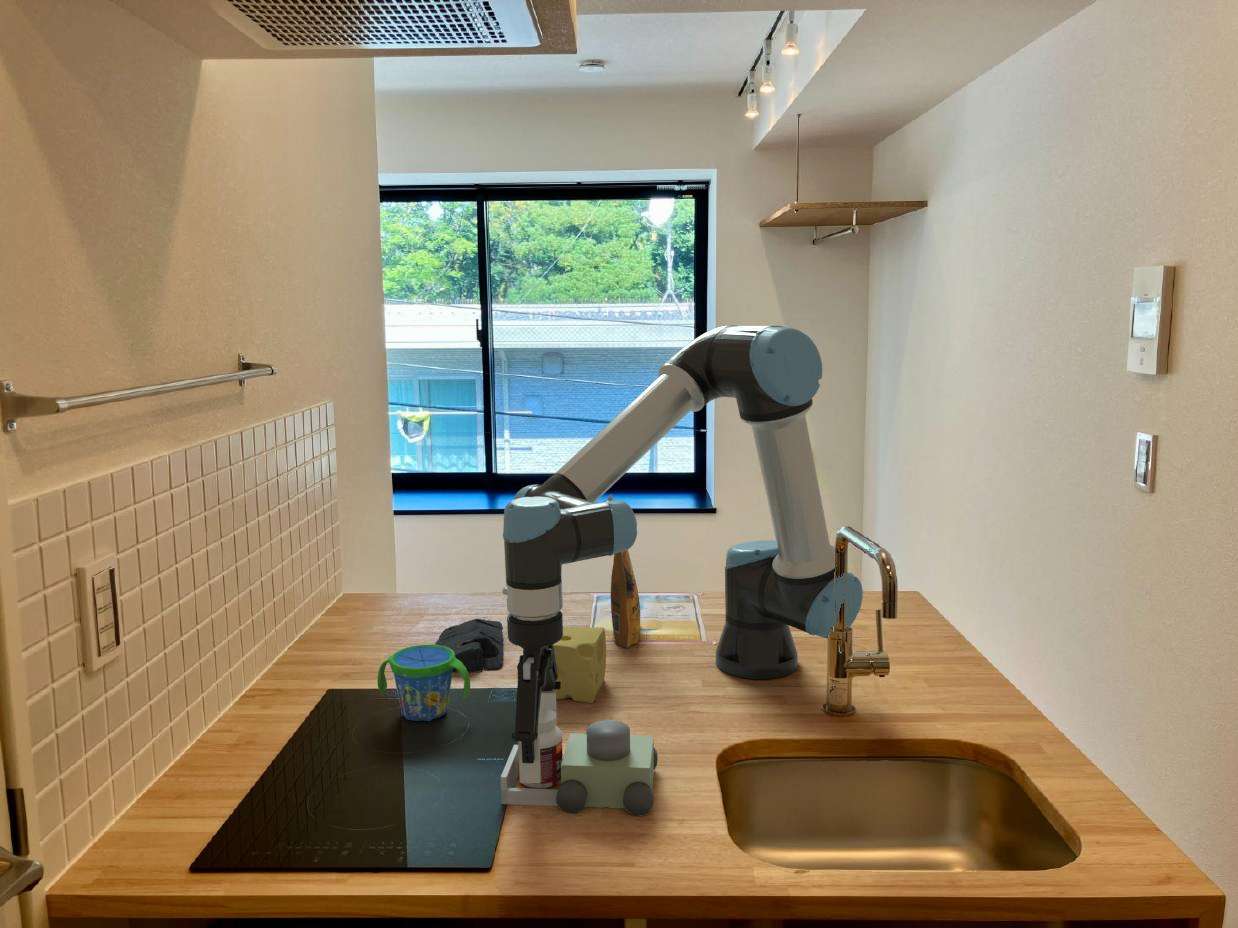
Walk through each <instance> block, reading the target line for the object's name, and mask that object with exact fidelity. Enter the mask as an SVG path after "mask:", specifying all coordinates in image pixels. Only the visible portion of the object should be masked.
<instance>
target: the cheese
mask: <svg viewBox="0 0 1238 928" xmlns="http://www.w3.org/2000/svg"><path fill="white" fill-rule="evenodd" d="M605 629H606V628H604V627H601V626H600V627H599V626H598V627H571V626H570V627H569V626H568V627H567V626H563V636H562V638H561V640H560V641H558V642H557V643H555V644H553V645H554V652H555V659H556V667H557V674H558V678H557V680H555V681H556V682H561V689H560V690H556V689H553V691H556V700H564V699H567V698H568V699H569V698H570V699H572V701H574V702H581V703H589V704H591V703H592V704H593V703H594V702H595V701H596V696H597V695H598V692H599V690H600V689H601V687H602V685H603V683H604V681H605V678H606V677H605V676H606V667H607V641H606V632H605V631H606V630H605ZM541 691H542V690H541Z"/></svg>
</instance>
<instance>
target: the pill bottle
mask: <svg viewBox="0 0 1238 928" xmlns="http://www.w3.org/2000/svg"><path fill="white" fill-rule="evenodd" d="M556 716H557V712H556V713H555V712H554V711H553V710H550V709H546V708H540V711H539V722H538V735H540V764H541V782H540V784H539V783H520V772H519V776H518V784H519V785H518V786H519V788H531V789H559V786H560V785H561V763H562V760H563V756H564V753H563V733H562V730H561V729H560V728H559V727H558V726H556V723H557V722H558V721H557V720H556ZM557 724H558V723H557ZM517 745H518V744H517ZM518 757H519V745H518Z"/></svg>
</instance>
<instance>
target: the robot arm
mask: <svg viewBox="0 0 1238 928" xmlns="http://www.w3.org/2000/svg"><path fill="white" fill-rule="evenodd" d="M657 373H658V374H657V375H658V377H657V378H656V379H655V380H654V381H653V382H652V383H651V384H650V385H649V386H648V387H647V388H645V390H643V392H642V393H640V394H639V395H638V396H637V397H636V398H635V399H634V400H632V402H631V403H630V404H628V405H627V406H626V407H625V408H624V409H623V410H622V411H620V413H618V415H616V416H615V417H614V418H613V419H612V420H611V421H610V422H609V423H608V424H607V425H605V426H604V427H603V428H602V429H601V430H600V431H599V432H598V433H597V434H596V435H595V436H594V437H593V438H592V439H591V440H589V441H588V442H587V443H586V444H585V445H584V446H583V447H582V448H581V449H580V450H579V451H577V453H575V454H574V455H573V456H572V457H571V458H570V459H569V460H567V462H566V463H564V465H562V466H561V467H560V468H559V469H558V470H557V471H556V472H555V473H554V474H553V475H552V476H550V477H549V478H548V479H547V480H546V481H545V482H544V483H542V484H529V485H527V486H525V487H522V488H521V489H520V490H519V491H517V492H516V494H515V495H514V497H513V499H512V500H511V501H508V503H507V504H506V505H505V507H504V510H503V528H502V529H503V532H502V539H503V543H504V545H503V546H504V547H503V549H504V566H505V583H506V585H505V586H506V587H503V588H502V590H501V593H502V594H503V595H505V596H506V595H507V596H506V597H507V598H506V610H507V611H508V614H507V615H506V619H507V620H506V626H507V638H508V641H509V642H510V643H511V644H512V645H515V646H516V647H517V646H518V647H520V648H522V654H520V656H519V658H518V659H519V660H518V663H517V666H516V669H517V691H516V703H515V704H516V706H515V707H516V708H515V721H514V722H515V726H514V732H513V733H511V739H512V740H514V742H517V745H519V772H520V783H539V784H540V782H541V764H540V735H538V722H539V711H540V708H546V709H550V710H553V711H554V712H555V713H556V714H557V699H556V691H553V689H556V690H560V689H561V682H556V681H555V680H557V678H558V674H557V667H556V659H555V652H554V645H553V644H555V643H557V642H558V641H560V640H561V638H562V636H563V627H564V621H563V619H564V617H563V616H564V615H563V612H562V611H561V610H562V609H563V602H564V601H563V580H562V569H563V567H562V565H568V564H572V563H576V562H582V561H587V560H591V559H596V558H597V559H598V558H602V557H606V556H609V557H612V556H614V554H616V553H619V552H622V551H626V550H628V551H629V550H630V549H631V548H632V547H633V546H634V544H635V542H636V541H637V536H638V522H637V518H636V515H635V512H634V511H633V509H632V507H631V506H630V505H629V504H628V503H627V502H625V501H624V500H619V499H617V500H616V499H615V500H614V499H613V501H608V500H607V499H605V500H603V501H600V502H597V501H598V500H599V499H600V498H601V497H602V496H603V495H604V494H605V493H606V492H607V491H609V489H610V488H612V487H613V485H614V484H615V483H616V482H618V481H619V480H620V479H621V478H622V477H623V476H624V475H625V474H626V473H627V472H628V471H629V470H630V469H631V468H632V467H634V465H635V464H636V463H637V462H639V460H641V458H643V457H644V456H645V455H646V454H647V453H648V452H649V451H650V450H651V449H652V448H654V447H655V445H657V444H658V443H659V441H661V439H663V438H664V437H665V435H667V434H668V433H669V432H671V430H672V429H674V427H675V426H676V425H677V424H678V423H679V422H681V421H682V419H684V418H685V416H687V415H688V414H689V413H691V412H695V413H696V412H699V411H701V410H702V409H703V408H704V407H705V406H706V405H707V404H709V403H710V402H711V401H713V400H716V399H719V398H734V399H735V400H736V405H737V408H738V409H737V410H738V413H739V417H740V420H741V421H742V422H744V423H746V424H748V425H750V426H751V429H752V432H753V433H752V434H753V438H754V442H755V448H756V453H757V457H758V461H759V466H760V470H761V471H760V472H761V477H762V480H763V485H764V491H765V494H766V499H767V503H768V508H769V514H770V518H771V523H772V527H773V533H774V536H775V540H754V541H746V542H741V543H738V544H734V545H732V546H731V547H729V549H728V550H727V552H726V555H725V557H726V558H725V566H724V583H725V584H724V586H725V587H724V590H725V591H724V592H725V593H724V594H725V596H724V598H725V600H724V603H725V605H724V606H725V607H724V608H725V609H724V611H725V616H724V617H725V620H724V621H725V622H724V625H723V629H722V632H721V634H720V637H719V640H718V643H717V645H716V650H715V664H716V666H717V667H718V669H720V670H721V671H723V672H724V673H726V674H729V675H732V676H734V677H739V678H744V679H751V680H772V679H778V678H779V679H780V678H783V677H787V676H788V675H790V674H792V673H794V672H795V671H796V670H797V668H798V666H799V665H798V663H799V660H798V659H799V657H798V651H797V648H796V644H795V642H794V637H793V635H792V632H791V628H790V627H792V628H795V629H797V630H800V631H802V632H804V633H807V634H808V635H810V636H816V637H817V636H818V637H821V638H822V639H823V638H824V639H829V638H828V635H829V632H831V630H832V629H830V628H831V627H833V626H834V625H835V626H836V625H837V615H838V618H839V611H840V608H841V604H843V603H844V599H845V598H846V625H847V626H848V629H849V628H850V627H851V626H852V625H853V623H854V622H855V621H856V619H857V616H858V614H859V612H860V610H861V607H862V602H863V597H864V596H863V595H864V591H863V586H862V585H863V584H862V583H861V580H860V579H859V578H858V577H857V576H855V575H854V573H852V572H847V574H846V589H847V592H846V591H845V572H846V571H845V572H844V573H843V576H842V574H841V577H840V576H839V566H838V578H837V565H836V577H835V592H834V572H835V547H836V546H834V545H833V544H831V543H830V537H829V534H828V528H827V522H826V517H825V512H824V506H823V501H822V496H821V491H820V485H819V481H818V474H817V470H816V465H815V458H814V454H813V448H812V444H811V440H810V433H809V428H808V422H807V418H806V415H807V414H808V412H809V411H810V410H811V408H812V407H813V405H814V401H813V398H814V396H815V395H816V394H817V393H818V391H819V389H820V386H821V383H819V381H820V380H821V379H823V362H822V357H821V354H820V352H819V349H818V347H817V345H816V343H815V342H814V341H813V340H812V339H811V337H809V336H808V334H806V333H804V332H802V330H799V329H796V328H792V327H785V326H782V325H764V326H763V325H738V324H736V325H735V324H729V325H721V326H719V327H715V328H712V329H709V330H708V331H705V332H704V333H703V334H701V335H699V336H697V337H696V338H694V339H693V340H691V341H690V342H688V343H687V344H686V345H685V346H683V347H682V348H680V349H679V350H678V351H677V352H676V353H674V354H673V355H672V356H671V357H670V358H669V359H668V360H667V361H666V362H665V363H664V364H662V365H661V366H660V367H659V369H658V372H657ZM844 594H845V595H844ZM835 600H836V611H835ZM541 690H542V691H541ZM556 720H557V715H556ZM557 725H558V723H556V726H557ZM557 727H558V726H557Z"/></svg>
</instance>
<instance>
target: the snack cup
mask: <svg viewBox="0 0 1238 928" xmlns="http://www.w3.org/2000/svg"><path fill="white" fill-rule="evenodd" d="M387 664H389V666H390V670H391V672H392V673H393V676H394V682H395V687H396V693H397V697H398V701H399V706H400V710H401V713H402V716H403V717H405V719H406V720H407V721H415V722H420V721H425V722H431V721H432V720H435V719H439V718H440V717H442V716H443V715H446V713H447V712H448V709H449V703H450V695H451V686H452V677H453V673H454V672H453V669H454V668H456V669H457V671H458V672H457V673H458V674H459V676H460V677H461V678H462V680H463V682H464V683H463V692H462V693H463V694H462V700H466V698H468V696H469V694H470V690H471V679H470V674H469V672H467V669H466V667H465V666H464V665H463V663H462V662H461V661H460V660H458V659H457V658H456V657H455V653H454V651H453V650H452V649H450V648H448V647H445V646H441V645H435V644H417V645H411V646H408V647H404V648H402V649H399V650H397V651H395V652H393V654H391V656H389V657H387V658H386V659H385V660H384V661H383V662H382V663H381V665H380V667H379V668H378V671H377V672H378V673H377V681H376V682H377V688H378V689H377V690H378V691H379V692H380V693H384V692H385V691H387V688H388V682H387V677H386V674H385V670H386V667H387Z"/></svg>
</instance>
